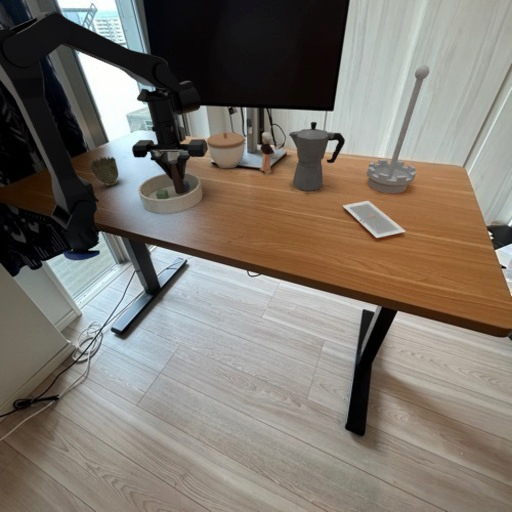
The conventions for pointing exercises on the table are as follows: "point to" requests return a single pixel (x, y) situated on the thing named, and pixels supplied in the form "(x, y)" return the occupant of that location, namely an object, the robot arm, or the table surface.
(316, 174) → the coffeepot
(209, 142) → the lidded bowl
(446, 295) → the table surface
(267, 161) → the grandmother figurine
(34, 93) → the robot arm
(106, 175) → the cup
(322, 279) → the table surface
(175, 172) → the brown cylinder
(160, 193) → the green block
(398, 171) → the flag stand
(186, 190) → the blue block
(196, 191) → the bowl
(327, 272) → the table surface
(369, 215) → the touchpad
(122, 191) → the table surface
